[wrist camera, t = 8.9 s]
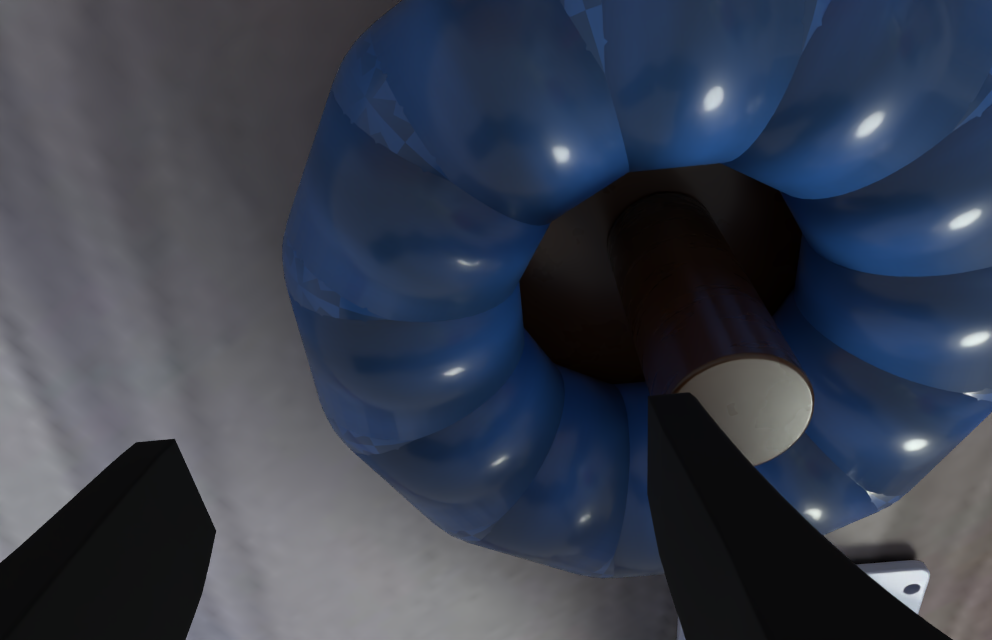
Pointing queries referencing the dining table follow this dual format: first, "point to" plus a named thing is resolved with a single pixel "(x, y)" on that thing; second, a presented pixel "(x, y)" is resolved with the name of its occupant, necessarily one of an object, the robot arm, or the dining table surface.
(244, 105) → the dining table surface
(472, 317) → the blue swim ring
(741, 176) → the wooden peg stand
